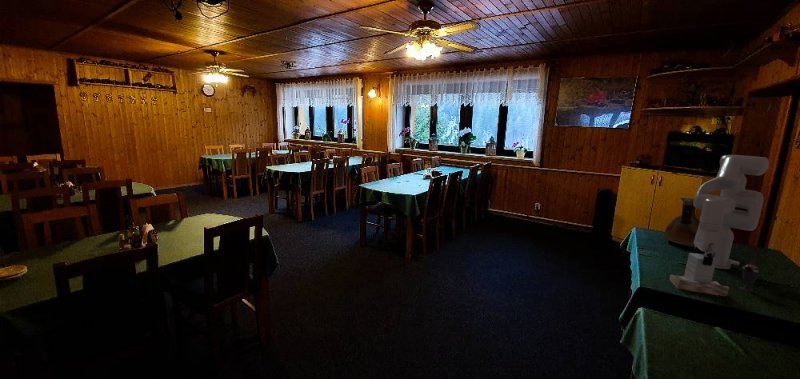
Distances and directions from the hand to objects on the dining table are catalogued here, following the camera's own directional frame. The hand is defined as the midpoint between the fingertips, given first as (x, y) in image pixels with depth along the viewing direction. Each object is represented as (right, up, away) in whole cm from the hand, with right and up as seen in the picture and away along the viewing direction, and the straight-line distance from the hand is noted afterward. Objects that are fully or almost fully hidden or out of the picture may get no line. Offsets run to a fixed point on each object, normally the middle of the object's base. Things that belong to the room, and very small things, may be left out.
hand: (702, 260), depth 157 cm
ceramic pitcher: (+39, -2, +58) cm, 70 cm away
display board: (-1, -13, +1) cm, 13 cm away
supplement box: (-1, -10, +2) cm, 11 cm away
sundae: (+21, -14, +1) cm, 25 cm away
